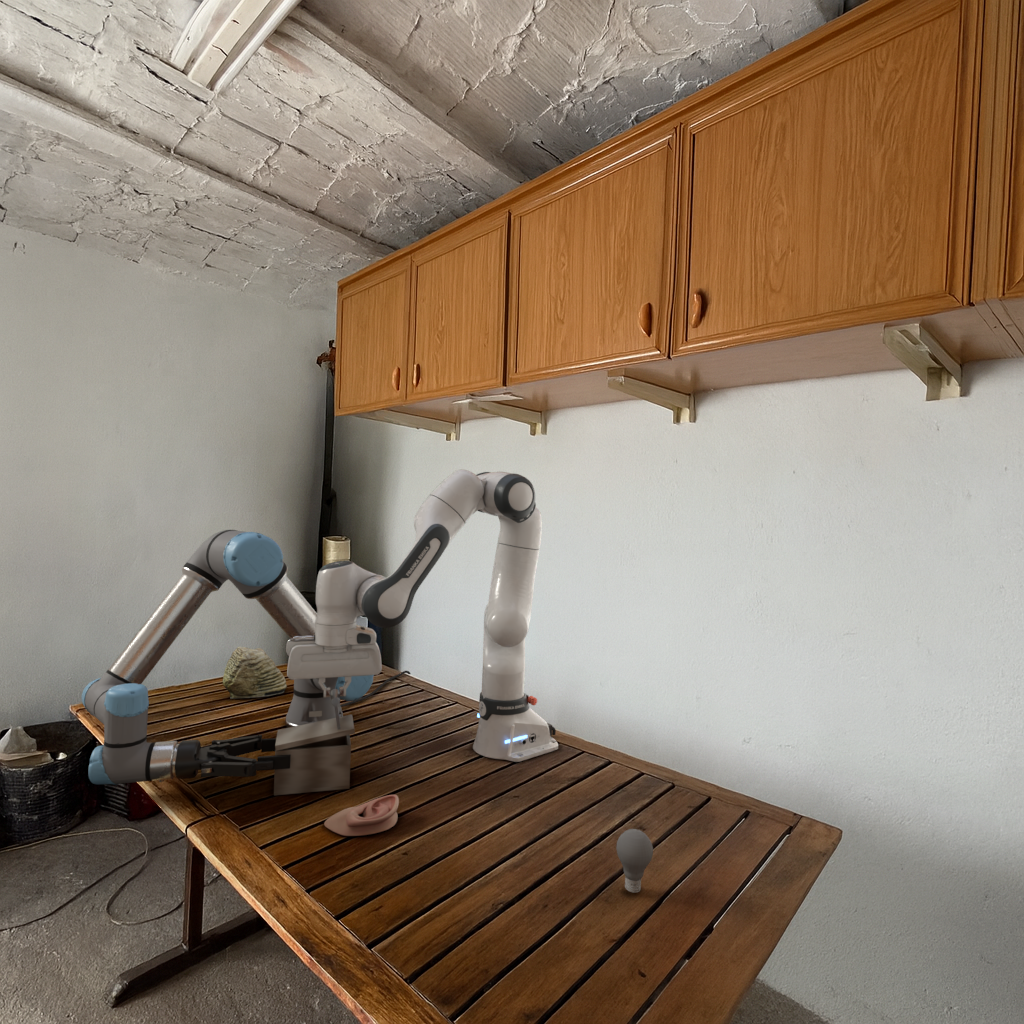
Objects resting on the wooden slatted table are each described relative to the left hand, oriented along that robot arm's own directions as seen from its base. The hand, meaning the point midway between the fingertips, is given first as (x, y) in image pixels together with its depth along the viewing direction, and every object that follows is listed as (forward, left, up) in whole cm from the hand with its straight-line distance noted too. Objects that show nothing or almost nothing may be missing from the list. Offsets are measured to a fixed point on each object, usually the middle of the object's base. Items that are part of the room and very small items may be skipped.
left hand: (291, 752), depth 139 cm
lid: (-4, +3, +4) cm, 6 cm away
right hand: (-7, +5, +12) cm, 15 cm away
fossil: (-26, -62, -7) cm, 68 cm away
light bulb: (-17, +74, -7) cm, 77 cm away
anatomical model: (-1, +24, -7) cm, 25 cm away
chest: (-4, +3, -7) cm, 9 cm away
